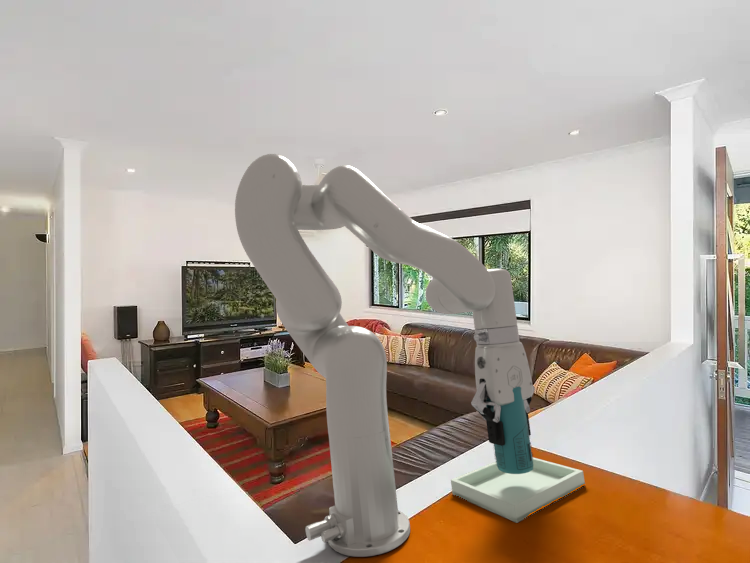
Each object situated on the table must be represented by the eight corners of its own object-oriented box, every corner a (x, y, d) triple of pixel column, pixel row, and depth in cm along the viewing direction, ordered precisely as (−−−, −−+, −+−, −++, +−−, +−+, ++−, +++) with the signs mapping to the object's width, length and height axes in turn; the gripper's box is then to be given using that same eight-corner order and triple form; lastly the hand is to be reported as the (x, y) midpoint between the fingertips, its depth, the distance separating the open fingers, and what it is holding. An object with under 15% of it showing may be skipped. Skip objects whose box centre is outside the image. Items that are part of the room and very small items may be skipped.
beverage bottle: (539, 483, 68) (522, 362, 69) (498, 484, 69) (482, 365, 71) (532, 468, 74) (517, 358, 76) (494, 469, 75) (480, 361, 77)
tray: (516, 522, 60) (514, 505, 61) (452, 494, 72) (450, 479, 72) (585, 485, 70) (582, 470, 70) (518, 465, 82) (516, 452, 82)
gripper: (478, 342, 66) (492, 457, 64) (544, 332, 75) (558, 431, 73) (447, 343, 72) (459, 447, 70) (511, 333, 81) (524, 424, 80)
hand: (510, 438), depth 72 cm, fingers closed on beverage bottle, 6 cm apart
